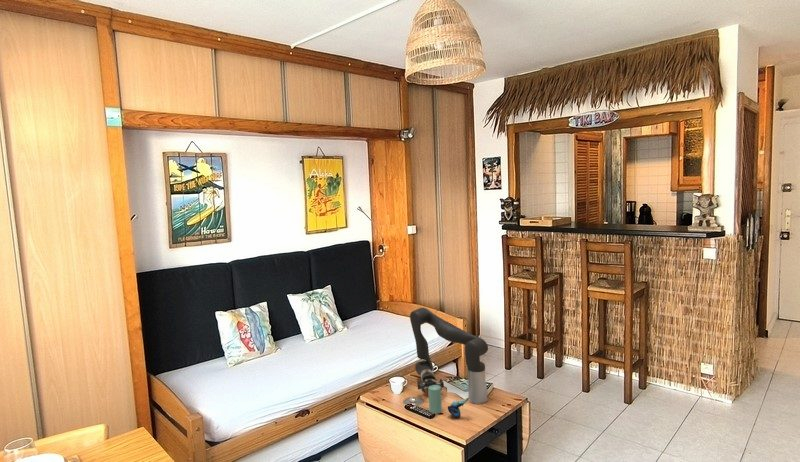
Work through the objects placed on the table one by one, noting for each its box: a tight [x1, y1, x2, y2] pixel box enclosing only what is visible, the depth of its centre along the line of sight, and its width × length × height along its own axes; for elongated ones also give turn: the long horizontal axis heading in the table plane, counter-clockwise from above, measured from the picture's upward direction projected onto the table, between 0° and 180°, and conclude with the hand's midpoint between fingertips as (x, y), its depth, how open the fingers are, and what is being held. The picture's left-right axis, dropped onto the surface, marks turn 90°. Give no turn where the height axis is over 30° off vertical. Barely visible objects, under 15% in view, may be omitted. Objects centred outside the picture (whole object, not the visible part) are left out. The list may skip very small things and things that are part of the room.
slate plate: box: [402, 396, 424, 407], centre depth 261 cm, size 11×11×1 cm
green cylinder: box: [427, 385, 443, 415], centre depth 248 cm, size 6×6×13 cm
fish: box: [447, 398, 469, 419], centre depth 241 cm, size 4×10×10 cm, turn 78°
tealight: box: [410, 396, 417, 403], centre depth 260 cm, size 4×4×2 cm
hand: (432, 389), depth 258 cm, fingers open, 8 cm apart
